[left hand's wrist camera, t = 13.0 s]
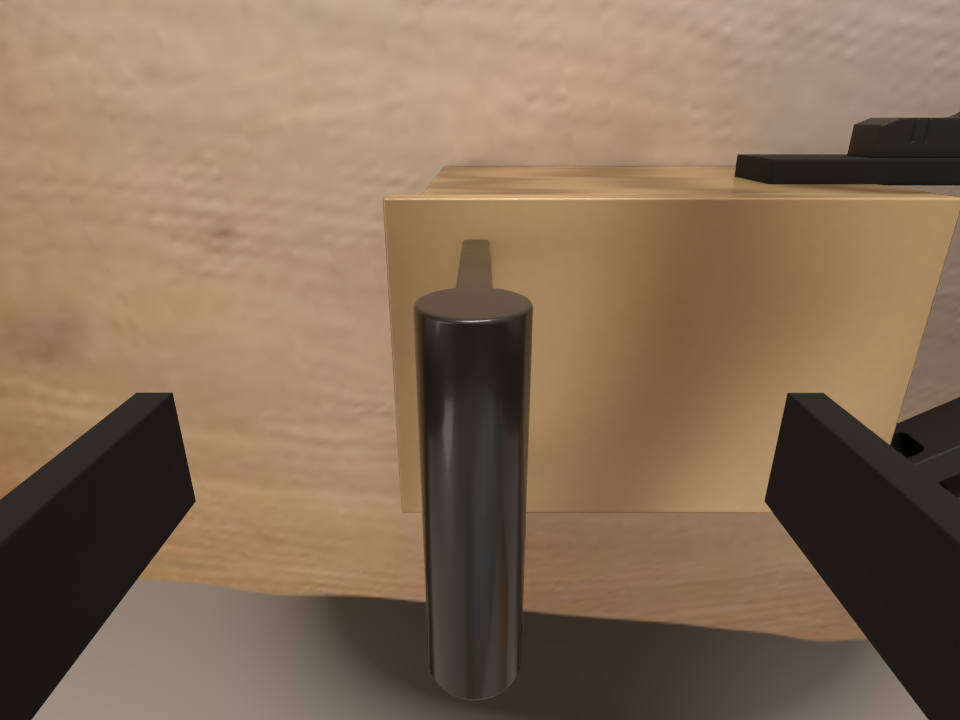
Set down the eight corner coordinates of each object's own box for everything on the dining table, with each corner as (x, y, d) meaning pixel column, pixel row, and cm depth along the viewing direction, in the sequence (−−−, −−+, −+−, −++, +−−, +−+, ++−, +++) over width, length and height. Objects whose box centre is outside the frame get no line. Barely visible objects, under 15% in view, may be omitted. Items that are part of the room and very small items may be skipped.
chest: (448, 371, 29) (432, 496, 19) (443, 166, 25) (420, 194, 16) (729, 371, 29) (853, 496, 19) (764, 166, 25) (939, 193, 16)
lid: (404, 497, 19) (357, 733, 12) (387, 194, 16) (303, 260, 8) (854, 497, 19) (1089, 733, 12) (941, 194, 16) (1356, 260, 8)
